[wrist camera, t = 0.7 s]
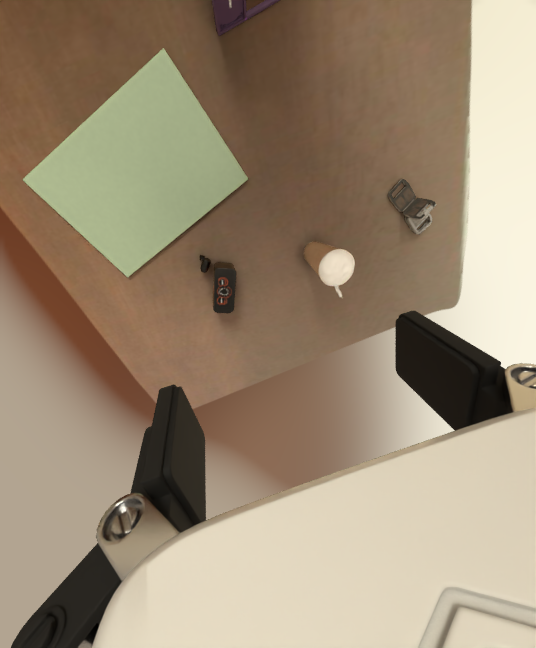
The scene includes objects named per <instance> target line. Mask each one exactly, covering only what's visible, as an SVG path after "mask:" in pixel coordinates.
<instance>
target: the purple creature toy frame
mask: <svg viewBox="0 0 536 648" xmlns="http://www.w3.org/2000/svg"><path fill="white" fill-rule="evenodd" d="M278 1H280V0H265V1H263V2H262V3H260V4H258V5H257V6H255V7H253V8H252V9H250V10H248V11H246V0H212V6H213V12H214V18H215V25H216V31H217V33H218V35H219V36H220V35H222V34H224V33H225V32H227V31H229V30H230V29H232V28H234V27H236V26H237V25H239V24H241V23H242V22H244V21H246V20H247V19H249V18H251V17H253V16H254V15H256V14H258V13H259V12H261V11H263V10H264V9H266V8H268V7H269V6H271V5H273V4H275V3H276V2H278Z"/></svg>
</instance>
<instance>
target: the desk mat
mask: <svg viewBox="0 0 536 648" xmlns="http://www.w3.org/2000/svg"><path fill="white" fill-rule="evenodd" d="M247 180H248V178H247V176H246V175H245V173H244V172H243V170H242V168H241V167H240V165H239V164H238V162H237V161H236V159H235V158H234V156H233V155H232V153H231V151H230V150H229V148H228V147H227V145H226V144H225V142H224V141H223V139H222V138H221V136H220V134H219V133H218V131H217V130H216V128H215V127H214V125H213V124H212V122H211V121H210V119H209V117H208V116H207V114H206V113H205V111H204V110H203V108H202V107H201V105H200V103H199V102H198V100H197V99H196V97H195V96H194V94H193V93H192V91H191V90H190V88H189V86H188V85H187V83H186V82H185V80H184V79H183V77H182V76H181V74H180V73H179V71H178V69H177V68H176V66H175V65H174V63H173V62H172V60H171V59H170V57H169V56H168V54H167V52H166V51H165V49H164V48H163V49H162V50H161V51H160V52H159V53H158V54H157V55H155V56H154V57H153V58H152V59H151V60H150V61H149V62H148V63H147V64H146V65H145V66H144V67H143V68H142V69H140V70H139V71H138V72H137V73H136V74H135V75H134V76H133V77H132V78H131V79H130V80H129V81H128V82H127V83H125V84H124V85H123V86H122V87H121V88H120V89H119V90H118V91H117V92H116V93H115V94H114V95H113V96H112V97H110V98H109V99H108V100H107V101H106V102H105V103H104V104H103V105H102V106H101V107H100V108H99V109H98V110H96V111H95V112H94V113H93V114H92V115H91V116H90V117H89V118H88V119H87V120H86V121H85V122H84V123H83V124H81V125H80V126H79V127H78V128H77V129H76V130H75V131H74V132H73V133H72V134H71V135H70V136H69V137H68V138H66V139H65V140H64V141H63V142H62V143H61V144H60V145H59V146H58V147H57V148H56V149H55V150H54V151H53V152H51V153H50V154H49V155H48V156H47V157H46V158H45V159H44V160H43V161H42V162H41V163H40V164H39V165H38V166H36V167H35V168H34V169H33V170H32V171H31V172H30V173H29V174H28V175H27V176H26V177H25V178H24V179H23V181H24V182H25V183H26V184H27V185H29V186H30V187H31V188H32V189H33V190H34V191H35V192H36V193H37V194H38V195H39V196H40V197H41V198H43V199H44V200H45V201H46V202H47V203H48V204H49V205H50V206H51V207H52V208H53V209H54V210H55V211H57V212H58V213H59V214H60V215H61V216H62V217H63V218H64V219H65V220H66V221H67V222H68V223H69V224H71V225H72V226H73V227H74V228H75V229H76V230H77V231H78V232H79V233H80V234H81V235H82V236H83V237H85V238H86V239H87V240H88V241H89V242H90V243H91V244H92V245H93V246H94V247H95V248H96V249H97V250H99V251H100V252H101V253H102V254H103V255H104V256H105V257H106V258H107V259H108V260H109V261H110V262H111V263H113V264H114V265H115V266H116V267H117V268H118V269H119V270H120V271H121V272H122V273H123V274H124V275H125V276H127V277H129V276H130V275H131V274H133V273H134V272H135V271H136V270H138V269H139V268H140V267H141V266H142V265H144V264H145V263H146V262H147V261H149V260H150V259H151V258H152V257H153V256H155V255H156V254H157V253H158V252H160V251H161V250H162V249H163V248H164V247H166V246H167V245H168V244H169V243H171V242H172V241H173V240H174V239H176V238H177V237H178V236H179V235H180V234H182V233H183V232H184V231H185V230H187V229H188V228H189V227H190V226H191V225H193V224H194V223H195V222H196V221H198V220H199V219H200V218H201V217H202V216H204V215H205V214H206V213H207V212H209V211H210V210H211V209H212V208H214V207H215V206H216V205H217V204H218V203H220V202H221V201H222V200H223V199H225V198H226V197H227V196H228V195H229V194H231V193H232V192H233V191H234V190H236V189H237V188H238V187H239V186H240V185H242V184H243V183H244V182H245V181H247Z"/></svg>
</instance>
